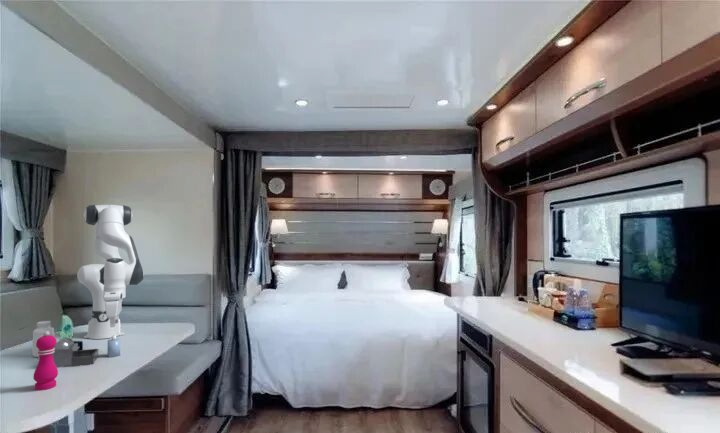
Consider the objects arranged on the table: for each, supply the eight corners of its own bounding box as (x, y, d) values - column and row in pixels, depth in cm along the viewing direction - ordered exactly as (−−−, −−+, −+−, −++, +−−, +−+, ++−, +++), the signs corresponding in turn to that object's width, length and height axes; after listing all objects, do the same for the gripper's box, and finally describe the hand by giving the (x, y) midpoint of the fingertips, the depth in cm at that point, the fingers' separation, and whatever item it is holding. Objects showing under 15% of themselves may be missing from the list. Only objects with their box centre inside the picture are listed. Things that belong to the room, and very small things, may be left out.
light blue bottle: (108, 354, 199) (108, 335, 199) (120, 353, 200) (121, 333, 201) (106, 357, 194) (106, 337, 194) (119, 356, 196) (119, 336, 196)
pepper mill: (41, 384, 161) (42, 329, 161) (62, 383, 161) (63, 328, 162) (28, 391, 154) (29, 333, 154) (49, 390, 154) (51, 333, 155)
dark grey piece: (56, 360, 190) (57, 337, 190) (98, 356, 196) (98, 334, 196) (48, 368, 178) (48, 344, 179) (93, 364, 184) (93, 340, 185)
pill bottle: (42, 358, 194) (43, 324, 195) (27, 357, 196) (28, 323, 196) (58, 353, 202) (58, 320, 202) (43, 352, 204) (44, 319, 204)
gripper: (110, 292, 206) (109, 321, 206) (102, 297, 188) (102, 330, 187) (125, 291, 209) (125, 320, 208) (119, 296, 190) (119, 328, 189)
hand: (114, 325), depth 197 cm, fingers open, 8 cm apart
